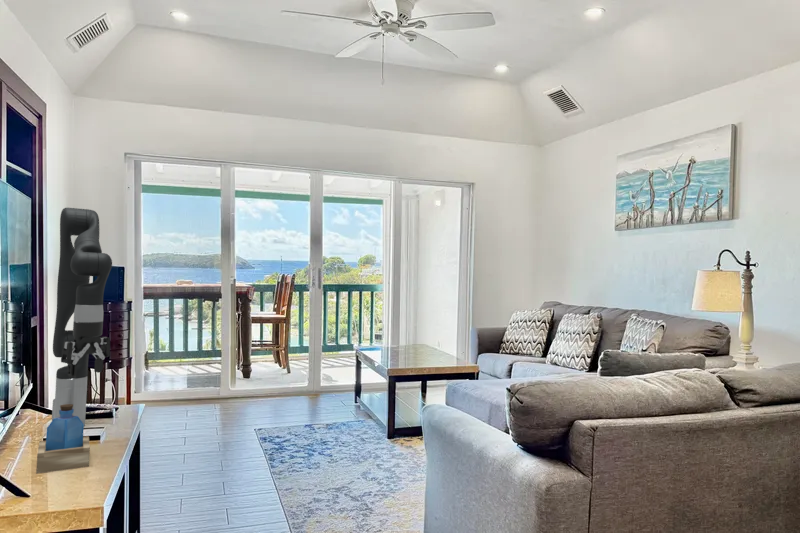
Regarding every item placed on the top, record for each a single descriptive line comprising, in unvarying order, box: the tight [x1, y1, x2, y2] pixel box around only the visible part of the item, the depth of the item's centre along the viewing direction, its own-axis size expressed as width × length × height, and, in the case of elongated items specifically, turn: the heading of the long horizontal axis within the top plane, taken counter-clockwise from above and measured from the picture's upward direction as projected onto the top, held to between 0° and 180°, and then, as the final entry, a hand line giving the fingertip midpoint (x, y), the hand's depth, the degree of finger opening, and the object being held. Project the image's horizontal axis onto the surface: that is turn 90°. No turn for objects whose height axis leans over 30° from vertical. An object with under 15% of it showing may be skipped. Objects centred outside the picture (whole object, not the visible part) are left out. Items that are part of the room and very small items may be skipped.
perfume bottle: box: [45, 404, 85, 451], centre depth 147 cm, size 6×6×12 cm
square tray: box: [35, 435, 91, 474], centre depth 147 cm, size 12×12×5 cm
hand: (85, 374), depth 155 cm, fingers open, 8 cm apart
